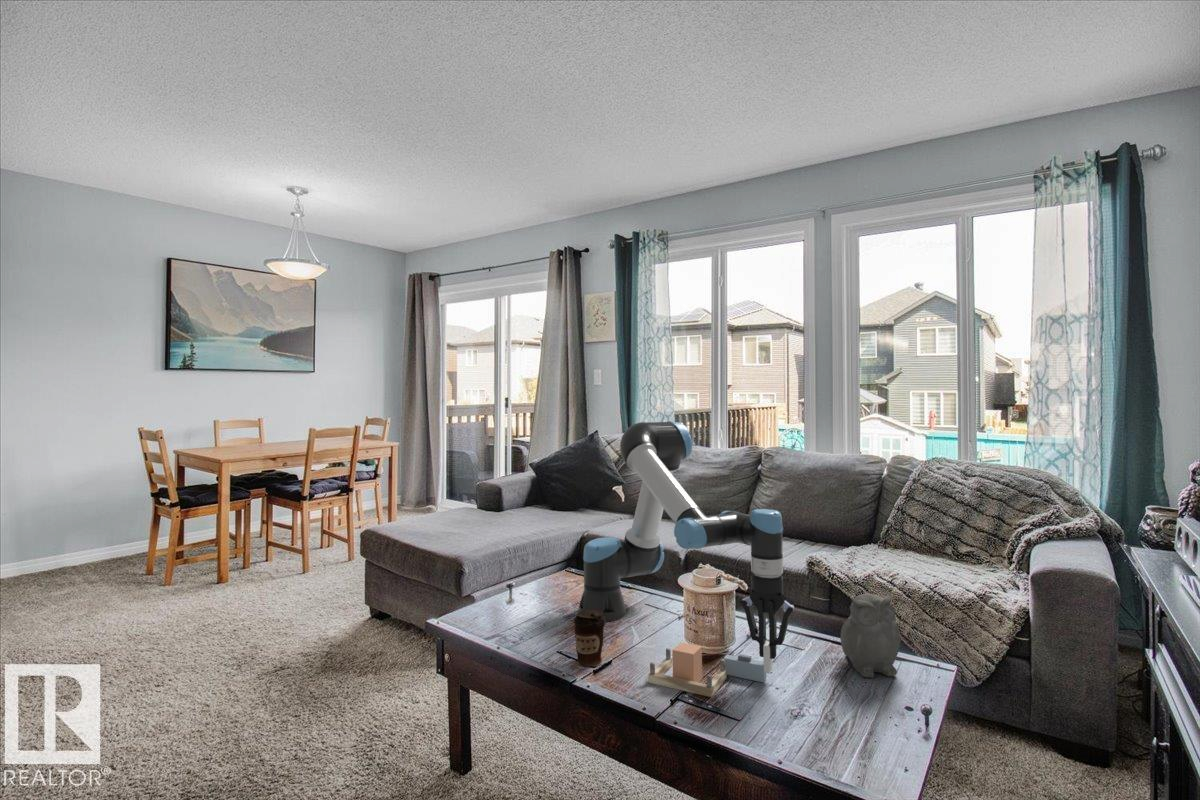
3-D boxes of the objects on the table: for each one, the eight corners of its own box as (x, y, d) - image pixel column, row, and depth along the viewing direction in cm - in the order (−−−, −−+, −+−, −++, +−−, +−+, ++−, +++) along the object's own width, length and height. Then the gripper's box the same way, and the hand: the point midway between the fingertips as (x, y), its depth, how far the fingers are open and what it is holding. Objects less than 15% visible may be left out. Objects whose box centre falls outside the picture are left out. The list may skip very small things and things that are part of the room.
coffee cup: (602, 671, 155) (601, 619, 155) (570, 668, 156) (570, 618, 157) (608, 657, 163) (607, 608, 164) (578, 655, 165) (578, 607, 165)
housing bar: (726, 670, 154) (726, 650, 154) (766, 678, 149) (766, 658, 149) (723, 674, 152) (723, 654, 152) (763, 682, 147) (763, 661, 147)
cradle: (666, 665, 158) (666, 647, 158) (726, 677, 150) (726, 659, 150) (648, 682, 148) (648, 663, 148) (711, 697, 140) (711, 677, 140)
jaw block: (681, 674, 153) (681, 642, 153) (702, 678, 150) (701, 646, 150) (672, 682, 148) (672, 649, 148) (693, 687, 145) (693, 654, 145)
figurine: (853, 681, 148) (852, 599, 148) (828, 654, 164) (827, 580, 164) (911, 681, 148) (909, 598, 148) (880, 654, 164) (879, 580, 164)
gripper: (736, 574, 148) (737, 671, 148) (791, 581, 142) (792, 682, 142) (744, 567, 155) (745, 660, 154) (797, 573, 148) (798, 670, 148)
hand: (768, 670), depth 148 cm, fingers closed
